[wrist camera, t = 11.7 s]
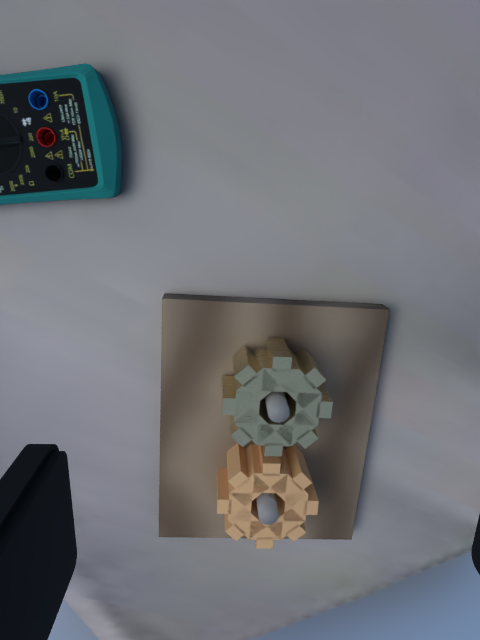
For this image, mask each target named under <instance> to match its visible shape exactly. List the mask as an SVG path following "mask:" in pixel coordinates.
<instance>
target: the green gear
mask: <svg viewBox="0 0 480 640" xmlns="http://www.w3.org/2000/svg"><path fill="white" fill-rule="evenodd" d="M232 358H233V368H234V374H233V376H227V375H222V390H221V392H222V415H229V419H230V436H231V437H232V438H233V439H234V440H235V441H236V442H237V443H239V444H240V445H241V446H242V447H243V446H245V445H246V444H247V443H248V442H250V441H251V440H252V441H253V442H254V443H255V444H256V445H260V446H263V452H264V456H282V450H283V446H292V445H293V444H295V443H296V442H297V441H298V442H299V443H300V444H301V445H302V446H303V447H304V448H305V449H306V448H307V447H308V446H309V445H311V444H312V443H313V442H315V441H316V440H317V439H318V435H317V433H316V430H315V427H317V426H318V421H319V418H331V413H332V406H333V401H332V399H331V397H330V395H329V394H328V392H327V390H326V388H325V386H324V384H323V382H325V381H326V379H325V377H324V375H323V373H322V372H321V370H320V368H319V366H318V365H317V363H316V361H315V359H314V358H313V357H312V356H311V355H310V354H309V353H308V352H307V350H306V349H305V348H303V349H302V350H301V351H300V352H298V353H297V354H296V355H295V354H294V353H293V352H292V350H291V349H288V347H287V345H286V342H285V340H284V339H283V338H267V344H266V348H258V349H257V350H255V351H254V352H253V353H252V352H251V351H250V350H249V349H248V348H247V347H246V346H244V347H242V348H241V349H240V350H239V351H238V352H236V353H235V354H234V355H233V356H232ZM272 391H275V392H286V393H284V395H285V398H286V401H287V404H288V407H289V410H290V415H289V417H288V418H287V419H286V420H285V421H283V422H280V423H277V422H274V421H272V420H271V419H270V418H269V416H268V412H267V407H266V403H265V399H263V398H264V397H265V396H267V395H268V394H269V393H270V392H272Z"/></svg>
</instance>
